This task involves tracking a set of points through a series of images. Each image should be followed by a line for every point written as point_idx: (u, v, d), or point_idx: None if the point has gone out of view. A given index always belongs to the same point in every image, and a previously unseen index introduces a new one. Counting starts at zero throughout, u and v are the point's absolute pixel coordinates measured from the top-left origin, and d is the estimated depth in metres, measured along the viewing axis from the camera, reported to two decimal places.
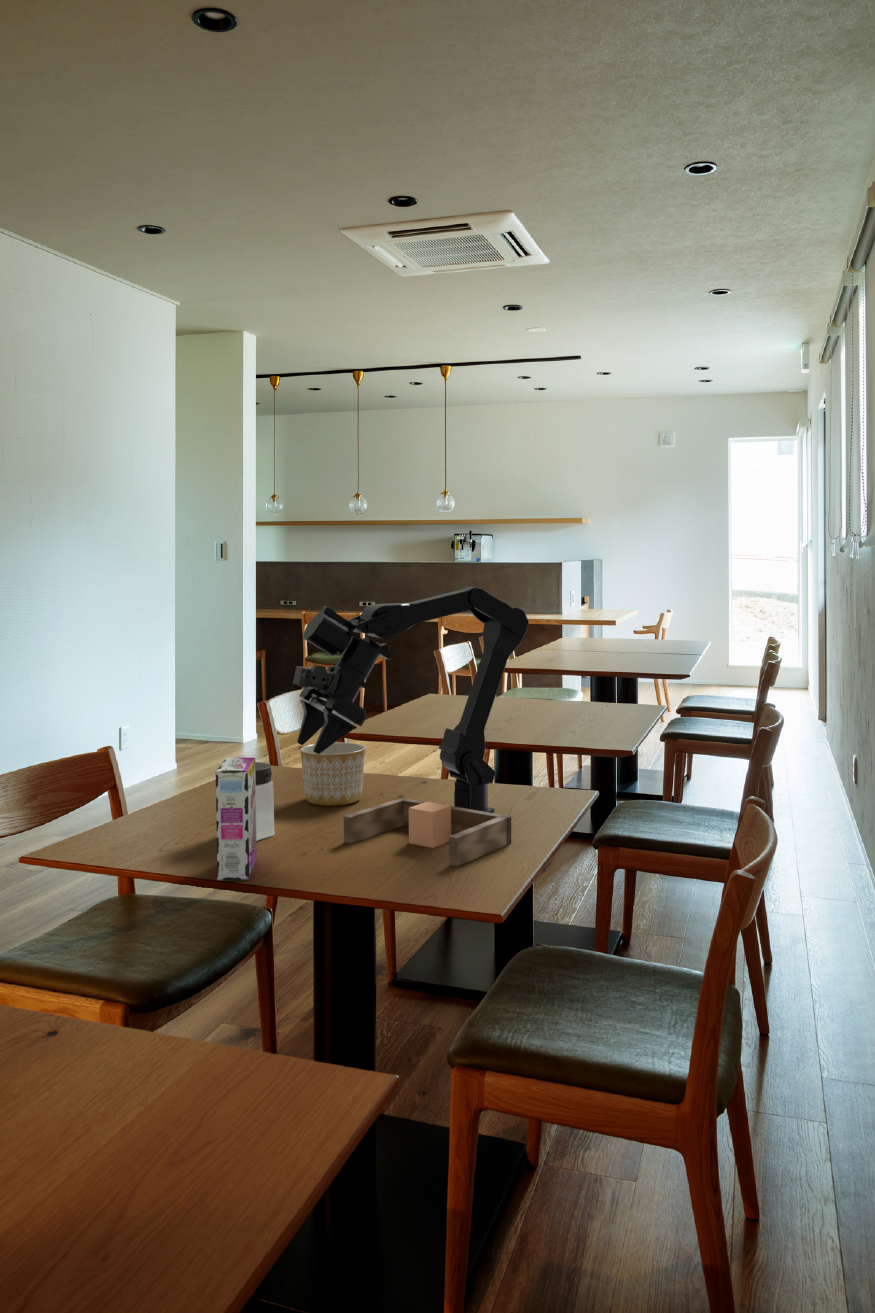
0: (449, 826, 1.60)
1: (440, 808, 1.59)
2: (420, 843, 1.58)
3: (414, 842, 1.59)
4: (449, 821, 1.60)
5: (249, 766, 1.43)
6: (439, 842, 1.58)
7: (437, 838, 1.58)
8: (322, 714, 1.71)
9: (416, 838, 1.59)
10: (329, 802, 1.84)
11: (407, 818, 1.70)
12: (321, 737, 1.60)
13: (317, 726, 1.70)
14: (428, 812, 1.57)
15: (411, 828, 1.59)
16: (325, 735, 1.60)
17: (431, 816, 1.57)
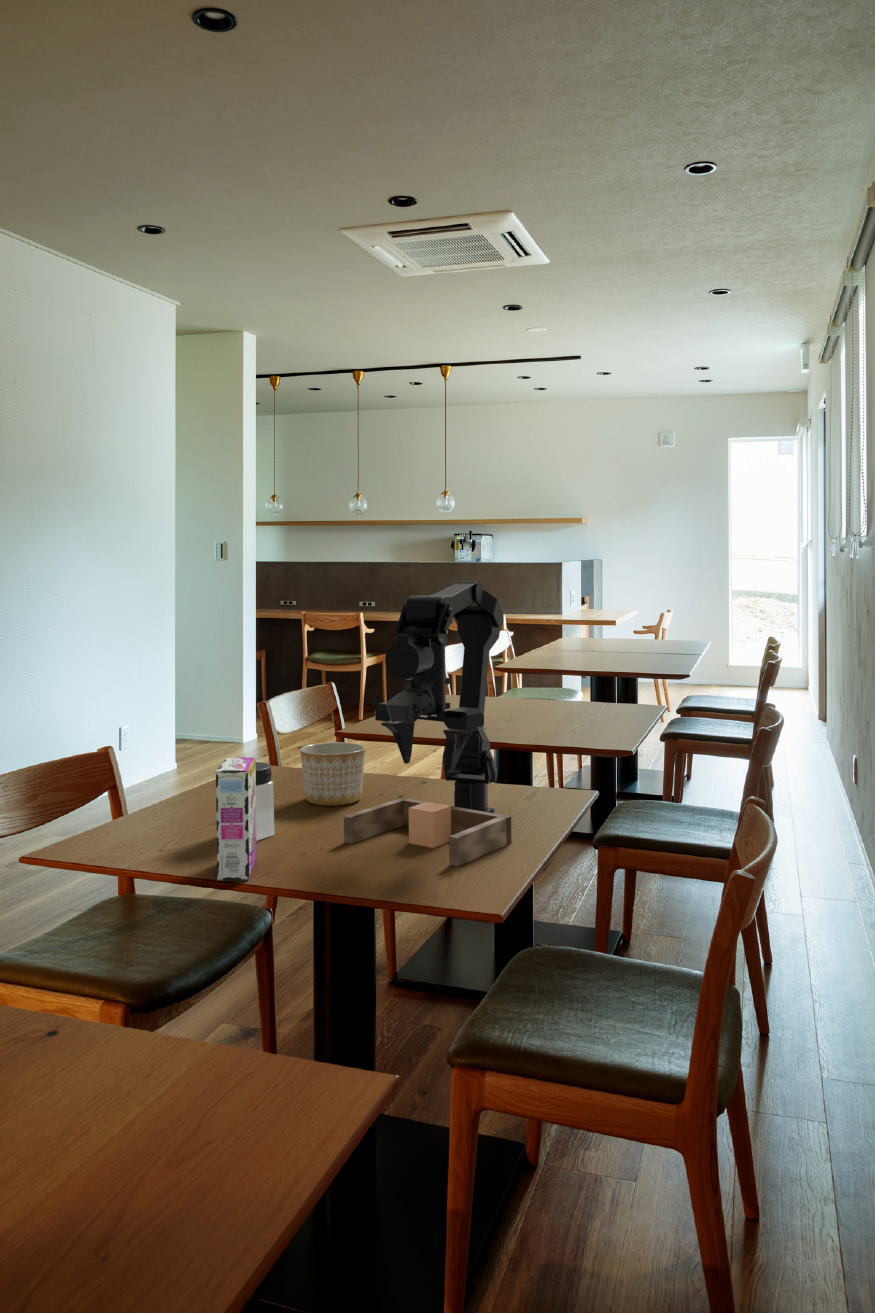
0: (449, 826, 1.60)
1: (440, 808, 1.59)
2: (420, 843, 1.58)
3: (414, 842, 1.59)
4: (449, 821, 1.60)
5: (249, 766, 1.43)
6: (439, 842, 1.58)
7: (437, 838, 1.58)
8: (408, 724, 1.63)
9: (416, 838, 1.59)
10: (329, 802, 1.84)
11: (407, 818, 1.70)
12: (452, 755, 1.55)
13: (410, 737, 1.63)
14: (428, 812, 1.57)
15: (411, 828, 1.59)
16: (455, 751, 1.55)
17: (431, 816, 1.57)
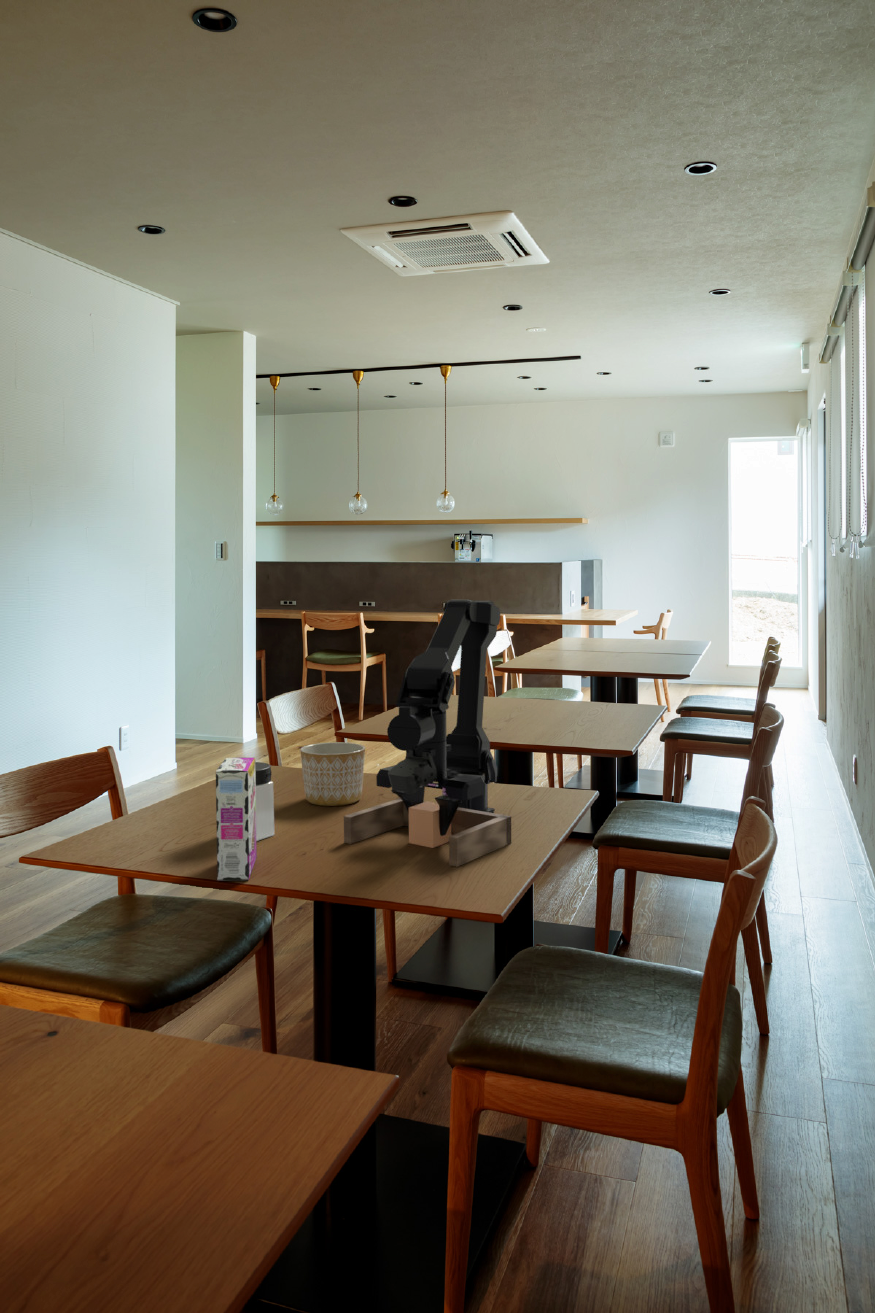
0: (449, 826, 1.60)
1: None
2: (420, 843, 1.58)
3: (414, 842, 1.59)
4: None
5: (249, 766, 1.43)
6: (439, 842, 1.58)
7: (437, 837, 1.58)
8: (418, 790, 1.62)
9: (416, 838, 1.59)
10: (329, 802, 1.84)
11: (407, 818, 1.70)
12: (444, 821, 1.57)
13: None
14: (428, 812, 1.57)
15: (411, 827, 1.59)
16: (446, 817, 1.57)
17: (431, 816, 1.57)
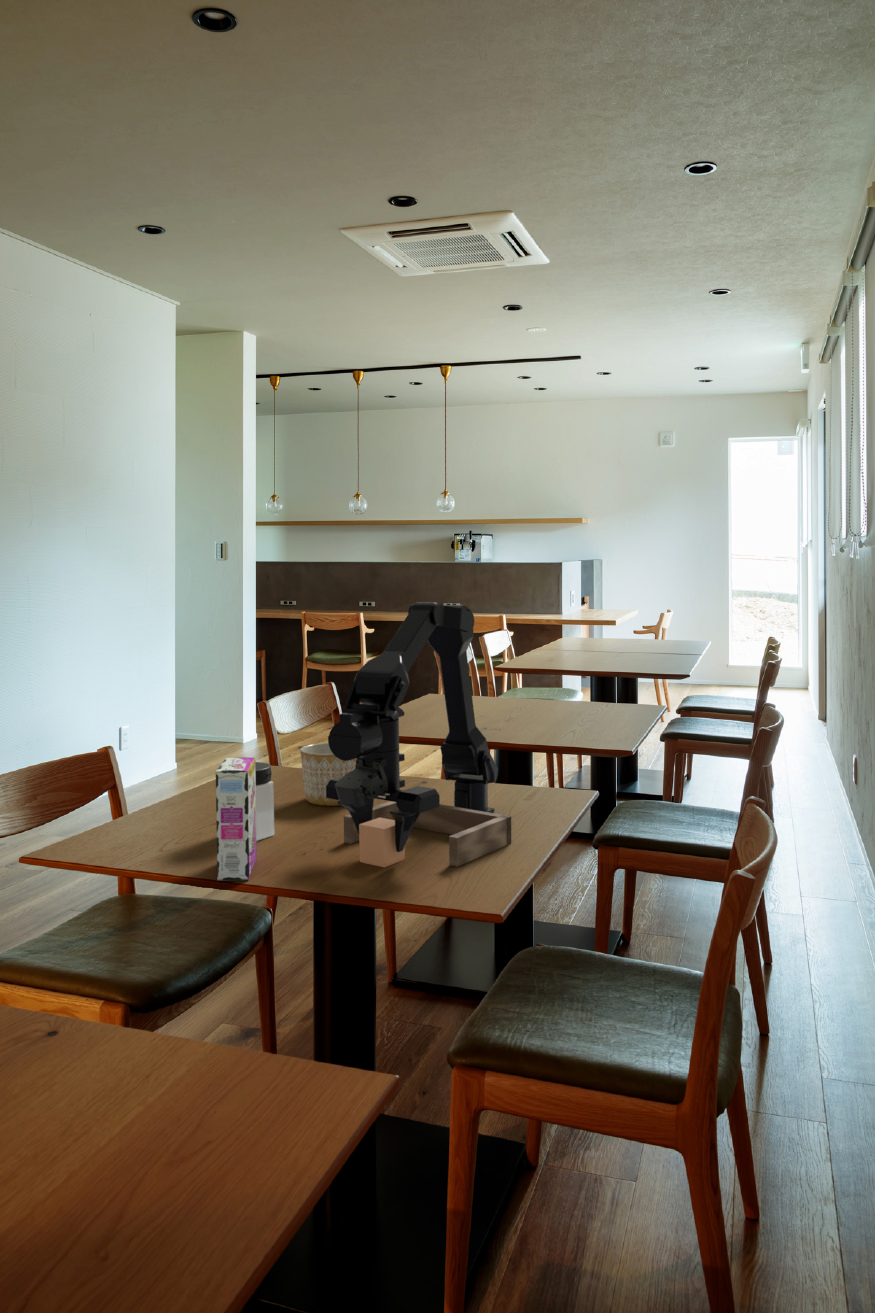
0: None
1: (392, 825, 1.49)
2: (371, 862, 1.48)
3: (365, 861, 1.49)
4: None
5: (249, 766, 1.43)
6: (391, 861, 1.48)
7: (389, 856, 1.48)
8: (366, 802, 1.53)
9: (367, 857, 1.49)
10: (329, 802, 1.84)
11: None
12: (400, 836, 1.47)
13: (369, 816, 1.53)
14: (379, 829, 1.47)
15: (362, 846, 1.49)
16: (403, 832, 1.47)
17: (382, 833, 1.47)
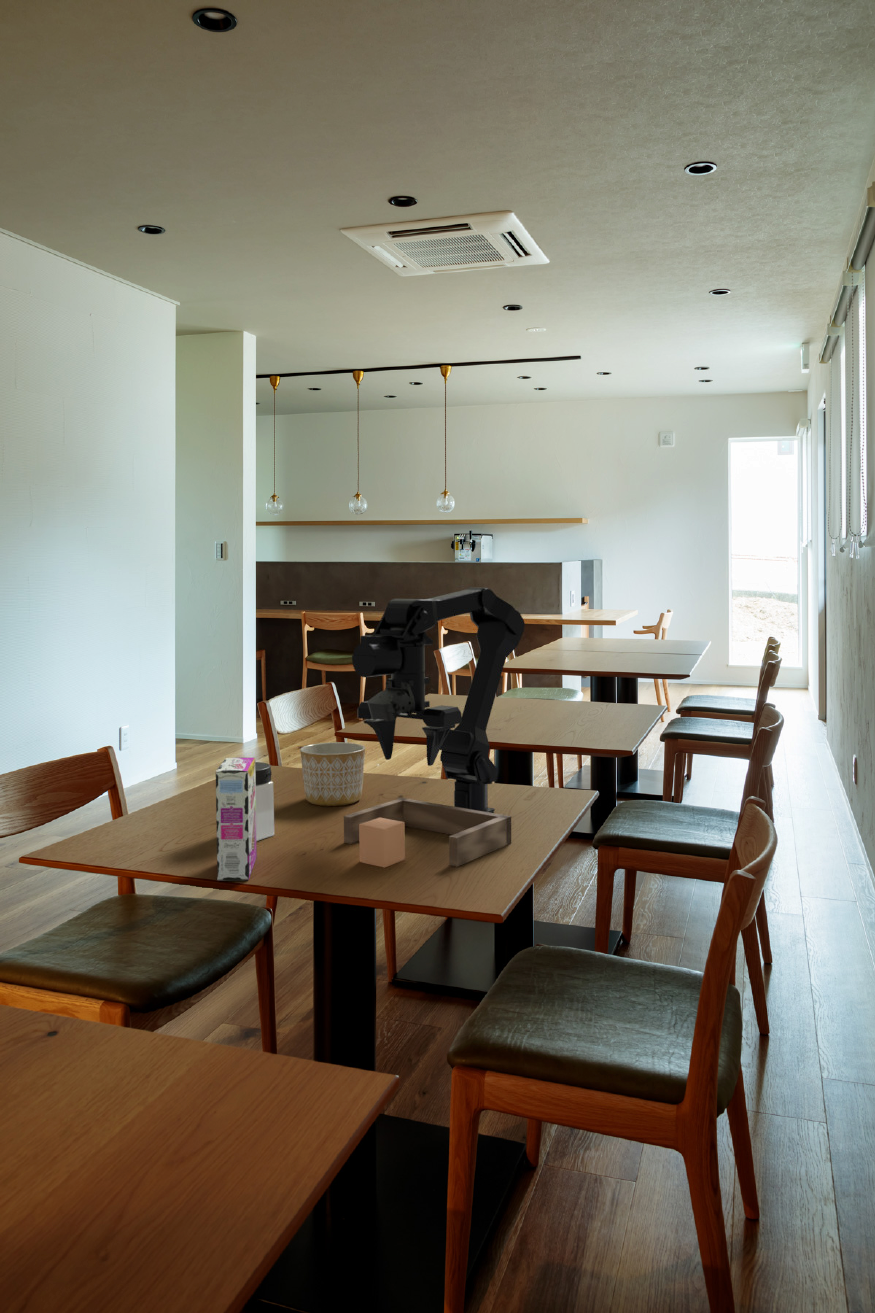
0: (403, 844, 1.50)
1: (392, 825, 1.49)
2: (371, 862, 1.48)
3: (365, 861, 1.49)
4: (403, 838, 1.50)
5: (249, 766, 1.43)
6: (391, 861, 1.48)
7: (389, 856, 1.48)
8: (389, 721, 1.70)
9: (367, 857, 1.49)
10: (329, 802, 1.84)
11: (407, 818, 1.70)
12: (431, 751, 1.62)
13: (392, 734, 1.70)
14: (379, 829, 1.47)
15: (362, 846, 1.49)
16: (433, 747, 1.62)
17: (382, 834, 1.47)
